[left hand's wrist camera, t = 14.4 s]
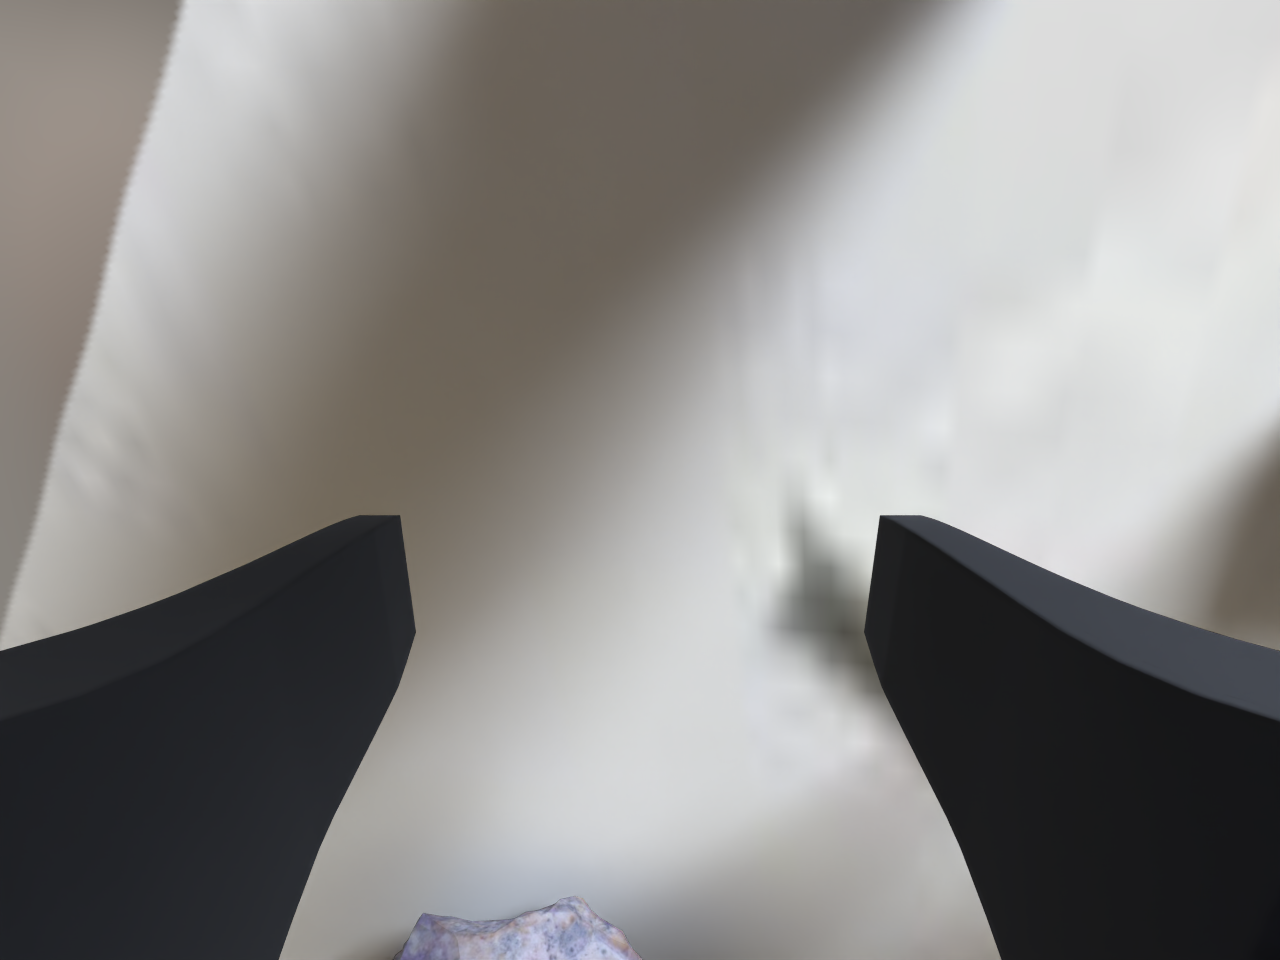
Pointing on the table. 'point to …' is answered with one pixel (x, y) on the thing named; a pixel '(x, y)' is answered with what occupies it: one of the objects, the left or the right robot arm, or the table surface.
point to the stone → (520, 937)
